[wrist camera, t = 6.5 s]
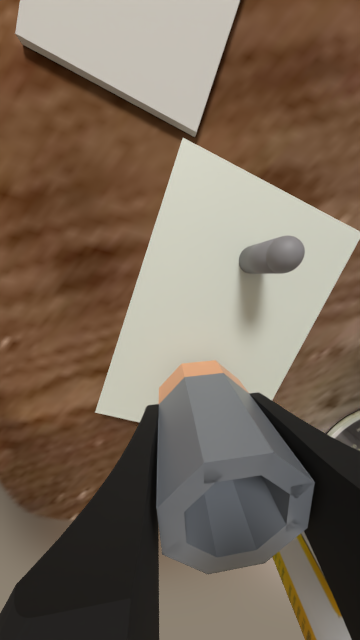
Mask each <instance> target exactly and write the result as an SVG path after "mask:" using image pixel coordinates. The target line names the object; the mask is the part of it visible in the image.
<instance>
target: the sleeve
mask: <svg viewBox="0 0 360 640" xmlns="http://www.w3.org/2000/svg"><path fill="white" fill-rule="evenodd" d="M314 484H315V482H314V481H313V479H312V478H311V477H310V475H309V474H308V472H307V471H306V470H305V468H304V467H303V466H302V464H301V463H300V462H299V460H298V459H297V458H296V456H295V455H294V454H293V452H292V451H291V449H290V448H289V447H288V445H287V444H286V443H285V441H284V440H283V439H282V437H281V436H280V435H279V433H278V432H277V431H276V429H275V428H274V426H273V425H272V424H271V422H270V421H269V420H268V418H267V417H266V416H265V414H264V413H263V412H262V410H261V409H260V408H259V406H258V405H257V403H256V402H255V401H254V399H253V398H252V397H251V395H250V394H249V393H248V391H247V390H246V389H245V387H244V386H243V385H242V383H241V382H240V380H239V379H238V378H236V377H235V376H234V375H233V374H232V373H230V372H229V371H228V370H227V369H225V368H224V367H223V366H222V365H221V364H219V363H218V362H217V361H216V360H212V361H202V362H192V363H182V364H181V365H180V366H179V367H178V368H177V369H176V370H175V371H174V372H173V373H172V374H171V375H170V377H169V378H168V379H167V380H166V381H165V382H164V383H163V384H162V385H161V386H160V387H159V417H158V453H157V500H156V509H157V516H158V523H159V531H160V539H161V547H162V554H163V555H165V556H167V557H169V558H172V559H174V560H176V561H179V562H181V563H183V564H185V565H188V566H190V567H193V568H195V569H197V570H199V571H202V572H204V573H206V574H212V573H217V572H222V571H227V570H232V569H237V568H242V567H247V566H252V565H257V564H263V563H265V562H267V561H268V560H269V559H270V558H271V557H273V556H274V555H275V554H276V553H278V552H279V551H280V550H281V549H282V548H284V547H285V546H286V545H287V544H288V543H290V542H291V541H292V540H293V539H295V538H296V537H297V536H298V535H299V534H301V533H302V532H303V531H304V530H305V529H307V528H308V522H309V515H310V509H311V503H312V496H313V490H314Z"/></svg>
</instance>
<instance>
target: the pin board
mask: <svg viewBox="0 0 360 640" xmlns="http://www.w3.org/2000/svg"><path fill="white" fill-rule="evenodd" d="M359 239H360V232H359V231H358V230H356V229H354V228H352V227H350V226H348V225H346V224H344V223H343V222H341V221H339V220H337V219H335V218H333V217H331V216H329V215H327V214H326V213H324V212H322V211H320V210H318V209H316V208H314V207H312V206H311V205H309V204H307V203H305V202H303V201H301V200H299V199H297V198H296V197H294V196H292V195H290V194H288V193H286V192H284V191H282V190H281V189H279V188H277V187H275V186H273V185H271V184H269V183H267V182H265V181H264V180H262V179H260V178H258V177H256V176H254V175H252V174H250V173H249V172H247V171H245V170H243V169H241V168H239V167H237V166H235V165H234V164H232V163H230V162H228V161H226V160H224V159H222V158H220V157H218V156H217V155H215V154H213V153H211V152H209V151H207V150H205V149H203V148H202V147H200V146H198V145H196V144H194V143H192V142H190V141H188V140H187V139H185V138H183V139H182V142H181V145H180V148H179V151H178V154H177V158H176V161H175V164H174V167H173V170H172V173H171V176H170V180H169V183H168V186H167V189H166V192H165V195H164V198H163V201H162V205H161V208H160V211H159V214H158V217H157V220H156V223H155V227H154V230H153V233H152V236H151V239H150V242H149V245H148V248H147V252H146V255H145V258H144V261H143V264H142V267H141V270H140V273H139V277H138V280H137V283H136V286H135V289H134V292H133V295H132V299H131V302H130V305H129V308H128V311H127V314H126V317H125V320H124V324H123V327H122V330H121V333H120V336H119V339H118V342H117V345H116V349H115V352H114V355H113V358H112V361H111V364H110V367H109V371H108V374H107V377H106V380H105V383H104V386H103V389H102V392H101V396H100V399H99V402H98V405H97V408H96V411H95V412H96V413H100V414H105V415H109V416H113V417H118V418H122V419H126V420H131V421H135V422H139V423H140V421H141V418H142V416H143V414H144V411H145V408H146V407H147V406H148V405H154V404H159V387H160V386H161V385H162V384H163V383H164V382H165V381H166V380H167V379H168V378H169V377H170V375H171V374H172V373H173V372H174V371H175V370H176V369H177V368H178V367H179V366H180V365H181V364H182V363H192V362H202V361H212V360H216V361H217V362H218V363H219V364H221V365H222V366H223V367H224V368H225V369H227V370H228V371H229V372H230V373H232V374H233V375H234V376H235V377H236V378H238V379H239V380H240V382H241V383H242V385H243V386H244V387H245V389H246V390H247V391H248V393H257V392H259V393H261V394H263V395H264V396H266V397H267V398H269V399H270V400H272V399H273V398H274V396H275V394H276V392H277V390H278V388H279V387H280V385H281V383H282V381H283V379H284V377H285V375H286V374H287V372H288V370H289V368H290V366H291V364H292V363H293V361H294V359H295V357H296V355H297V353H298V352H299V350H300V348H301V346H302V344H303V342H304V340H305V339H306V337H307V335H308V333H309V331H310V329H311V328H312V326H313V324H314V322H315V320H316V318H317V317H318V315H319V313H320V311H321V309H322V307H323V305H324V304H325V302H326V300H327V298H328V296H329V294H330V293H331V291H332V289H333V287H334V285H335V283H336V282H337V280H338V278H339V276H340V274H341V272H342V270H343V269H344V267H345V265H346V263H347V261H348V259H349V258H350V256H351V254H352V252H353V250H354V248H355V247H356V245H357V243H358V241H359Z"/></svg>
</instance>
